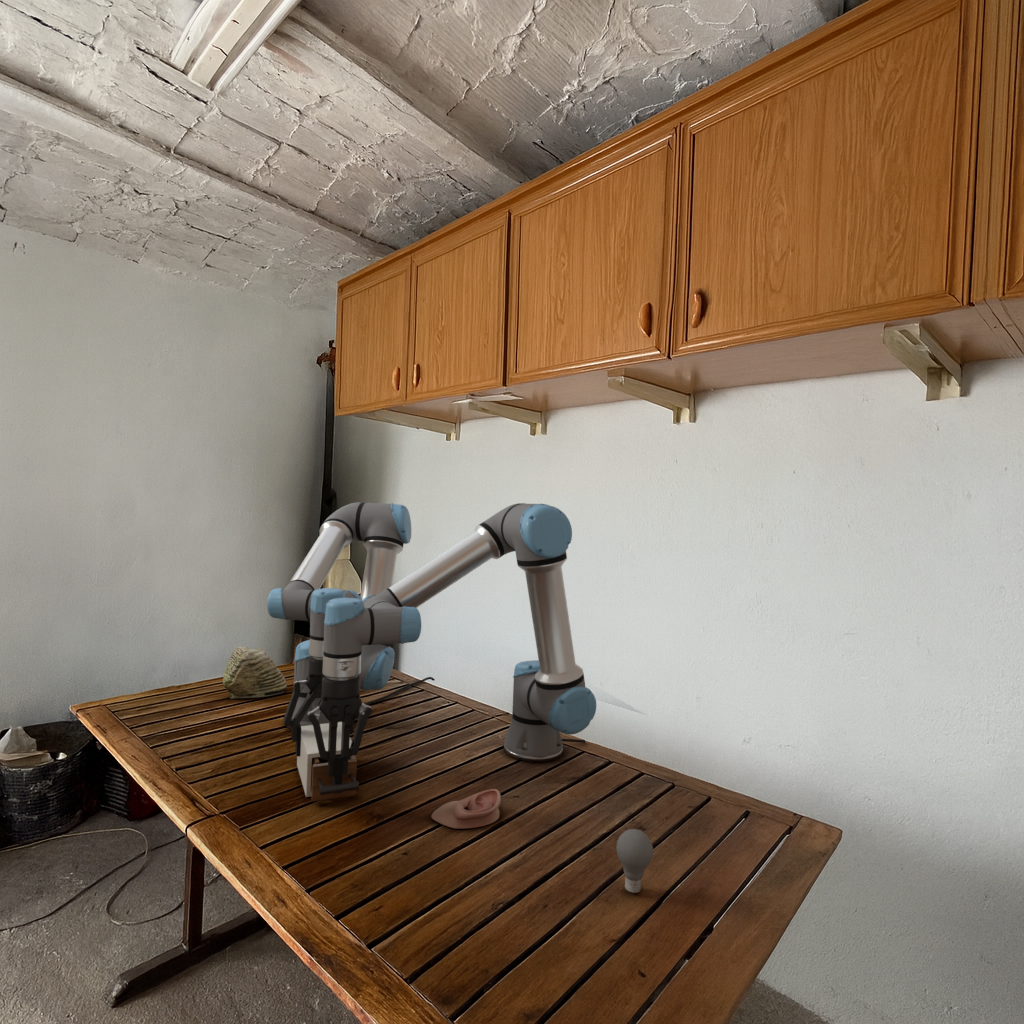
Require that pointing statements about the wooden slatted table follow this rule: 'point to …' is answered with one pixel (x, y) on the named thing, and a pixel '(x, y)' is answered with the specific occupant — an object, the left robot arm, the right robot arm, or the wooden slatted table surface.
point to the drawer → (323, 782)
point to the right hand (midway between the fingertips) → (336, 790)
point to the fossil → (252, 674)
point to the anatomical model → (470, 811)
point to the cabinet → (314, 751)
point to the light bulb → (634, 857)
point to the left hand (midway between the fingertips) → (322, 751)
